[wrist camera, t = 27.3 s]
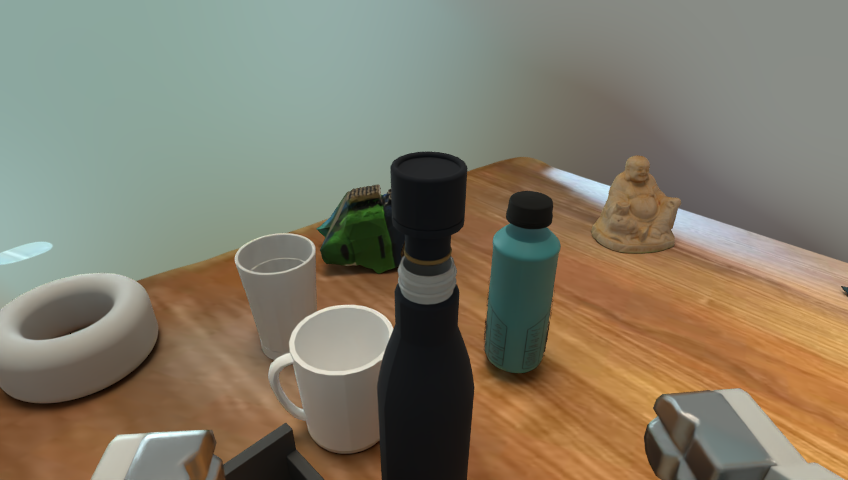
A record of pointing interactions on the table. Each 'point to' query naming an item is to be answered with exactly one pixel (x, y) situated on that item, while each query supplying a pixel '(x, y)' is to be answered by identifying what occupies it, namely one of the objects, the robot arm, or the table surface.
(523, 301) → the beverage bottle
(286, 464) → the book rack
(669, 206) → the statue
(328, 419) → the mug
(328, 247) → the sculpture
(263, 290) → the cup
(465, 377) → the wine bottle
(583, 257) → the table surface
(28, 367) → the thick torus
